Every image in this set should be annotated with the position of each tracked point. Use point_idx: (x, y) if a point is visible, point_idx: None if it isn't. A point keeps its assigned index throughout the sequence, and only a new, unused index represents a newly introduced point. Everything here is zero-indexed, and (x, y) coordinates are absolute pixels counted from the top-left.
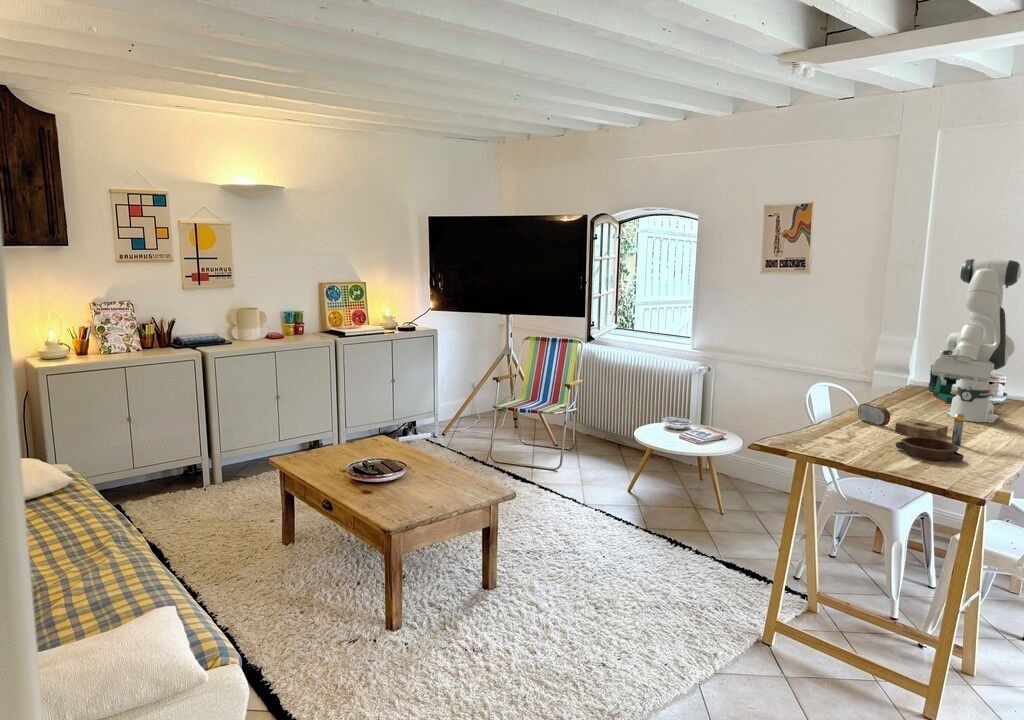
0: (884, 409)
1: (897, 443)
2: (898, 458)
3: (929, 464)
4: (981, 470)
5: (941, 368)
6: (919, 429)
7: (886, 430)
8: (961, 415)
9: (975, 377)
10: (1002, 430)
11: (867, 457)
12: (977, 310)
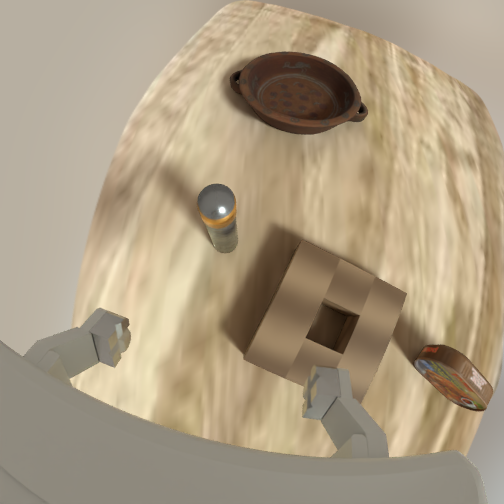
0: (453, 360)
1: (364, 106)
2: None
3: None
4: (204, 64)
5: (410, 497)
6: (338, 258)
7: (410, 310)
8: (210, 190)
9: (37, 367)
10: None
11: (382, 66)
12: None
